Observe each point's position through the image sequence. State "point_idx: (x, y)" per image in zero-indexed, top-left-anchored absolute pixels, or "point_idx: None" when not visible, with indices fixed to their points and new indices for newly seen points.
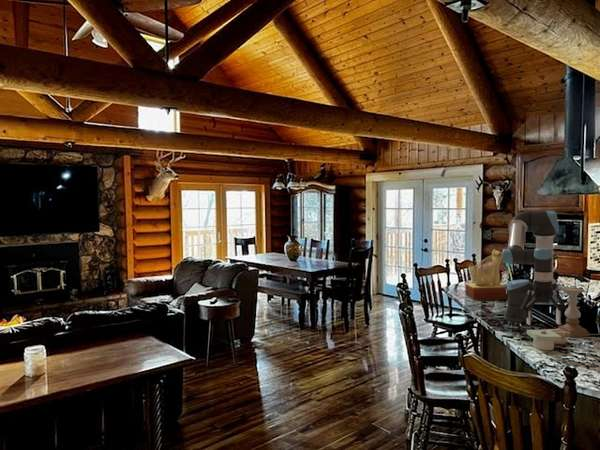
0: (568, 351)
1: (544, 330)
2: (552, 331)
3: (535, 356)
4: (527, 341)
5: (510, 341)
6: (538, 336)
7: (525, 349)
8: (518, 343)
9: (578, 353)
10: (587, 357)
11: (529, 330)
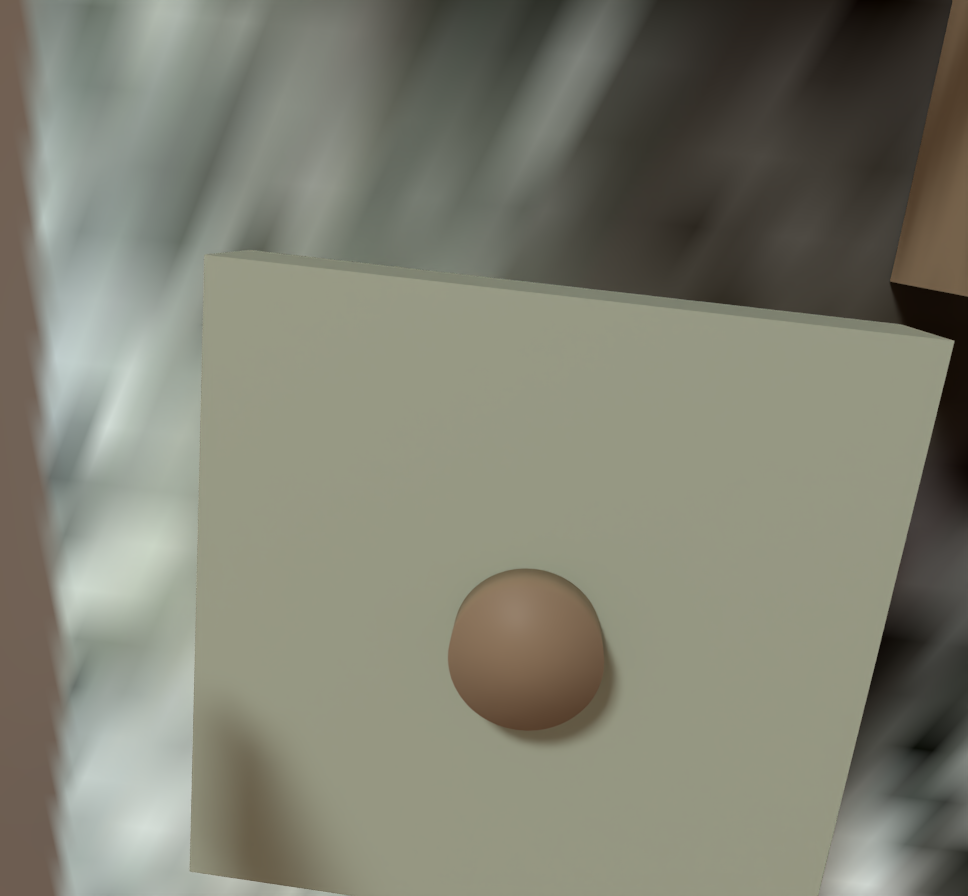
0: (857, 754)
1: (723, 387)
2: (900, 522)
3: (170, 883)
4: (421, 61)
5: (49, 23)
6: (246, 870)
7: (153, 560)
8: (166, 188)
9: (954, 864)
10: None
11: (262, 325)
